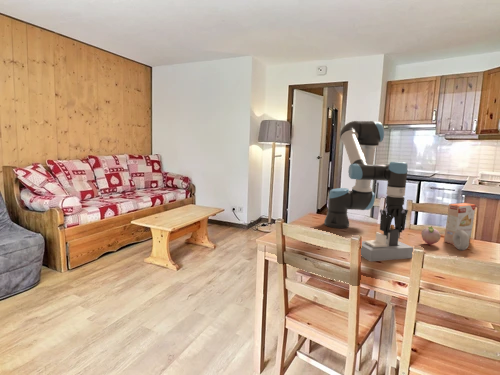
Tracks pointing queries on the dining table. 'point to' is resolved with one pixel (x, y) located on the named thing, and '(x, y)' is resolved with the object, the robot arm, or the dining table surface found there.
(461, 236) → the donut
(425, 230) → the decorative fruit
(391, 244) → the plug
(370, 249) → the socket housing
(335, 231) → the dining table surface
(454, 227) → the cracker box
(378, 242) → the cream l-shaped bracket
